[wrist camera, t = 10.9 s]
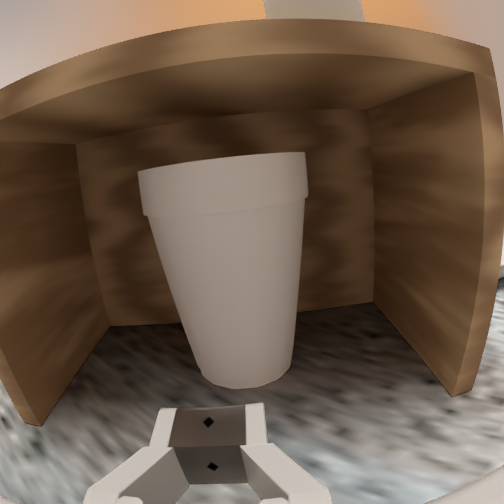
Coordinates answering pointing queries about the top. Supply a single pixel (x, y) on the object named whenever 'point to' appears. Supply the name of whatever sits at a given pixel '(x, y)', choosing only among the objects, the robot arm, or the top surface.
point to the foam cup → (232, 258)
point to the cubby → (251, 143)
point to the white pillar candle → (314, 9)
